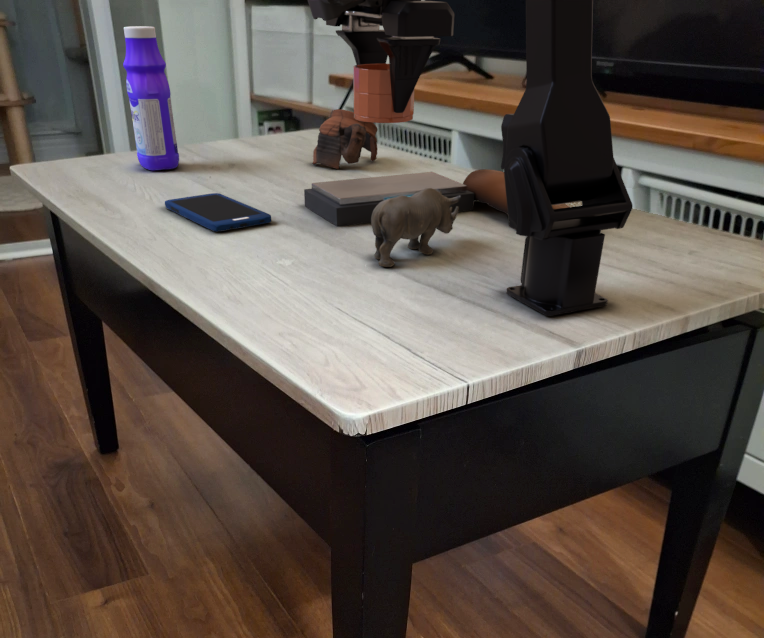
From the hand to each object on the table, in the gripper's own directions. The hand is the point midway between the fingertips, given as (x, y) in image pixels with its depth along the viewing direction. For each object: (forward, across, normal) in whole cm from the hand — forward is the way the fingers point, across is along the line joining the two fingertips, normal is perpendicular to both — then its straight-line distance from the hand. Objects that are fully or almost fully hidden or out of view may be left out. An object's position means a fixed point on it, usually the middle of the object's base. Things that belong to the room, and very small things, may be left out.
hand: (384, 107), depth 85 cm
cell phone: (+11, -7, -18) cm, 23 cm away
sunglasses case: (+11, +8, +15) cm, 20 cm away
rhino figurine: (+11, +15, -3) cm, 19 cm away
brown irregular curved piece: (+12, -28, +8) cm, 31 cm away
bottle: (+12, -37, -18) cm, 43 cm away
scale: (+11, -2, +2) cm, 11 cm away
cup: (+1, 0, 0) cm, 1 cm away
